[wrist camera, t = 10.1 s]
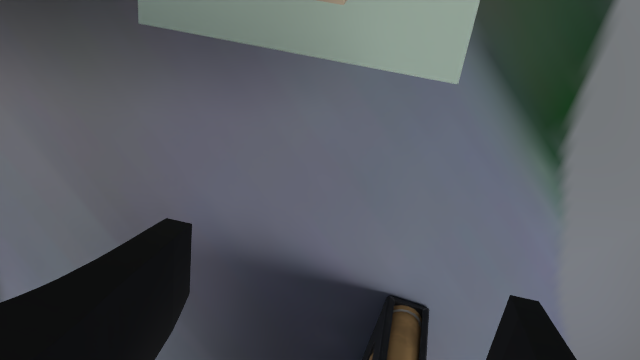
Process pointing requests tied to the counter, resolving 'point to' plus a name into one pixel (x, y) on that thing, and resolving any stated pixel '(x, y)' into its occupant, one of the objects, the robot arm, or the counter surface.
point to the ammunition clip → (399, 332)
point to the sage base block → (335, 29)
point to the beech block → (335, 1)
